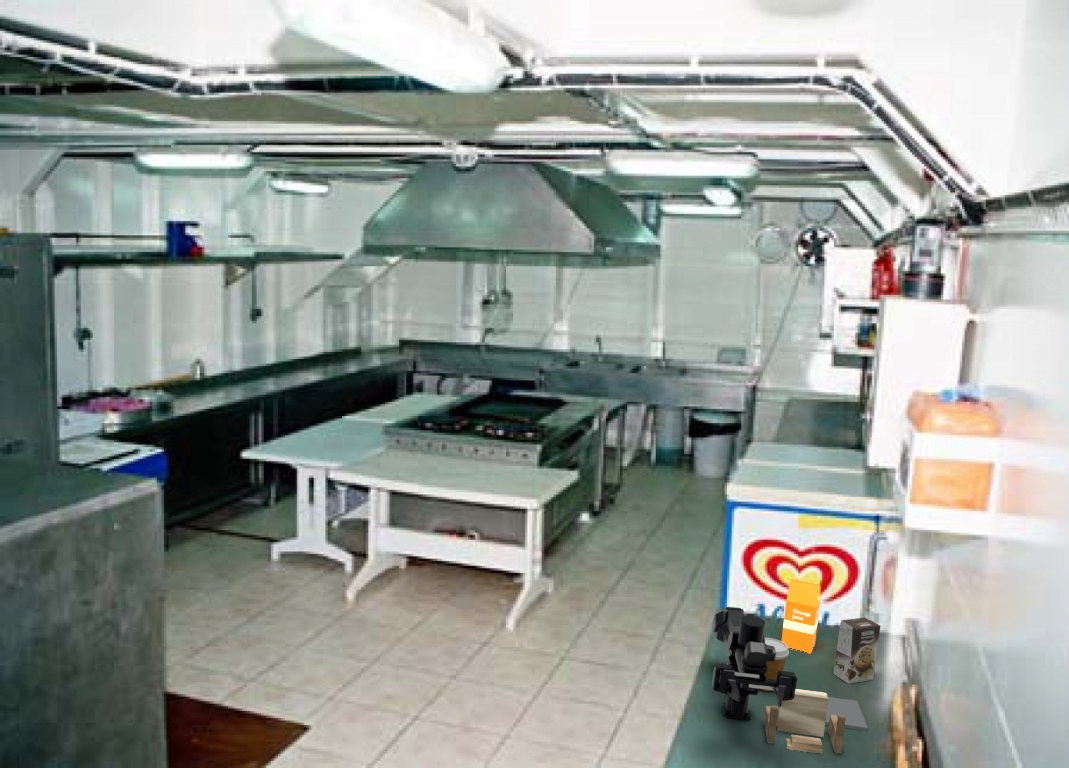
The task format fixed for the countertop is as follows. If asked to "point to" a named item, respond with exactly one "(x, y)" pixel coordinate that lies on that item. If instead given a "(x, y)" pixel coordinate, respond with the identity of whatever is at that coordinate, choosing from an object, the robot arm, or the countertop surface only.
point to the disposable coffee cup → (776, 658)
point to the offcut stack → (804, 744)
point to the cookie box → (856, 650)
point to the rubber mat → (846, 713)
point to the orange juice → (801, 615)
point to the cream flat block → (803, 713)
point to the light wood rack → (834, 727)
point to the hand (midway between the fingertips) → (759, 702)
